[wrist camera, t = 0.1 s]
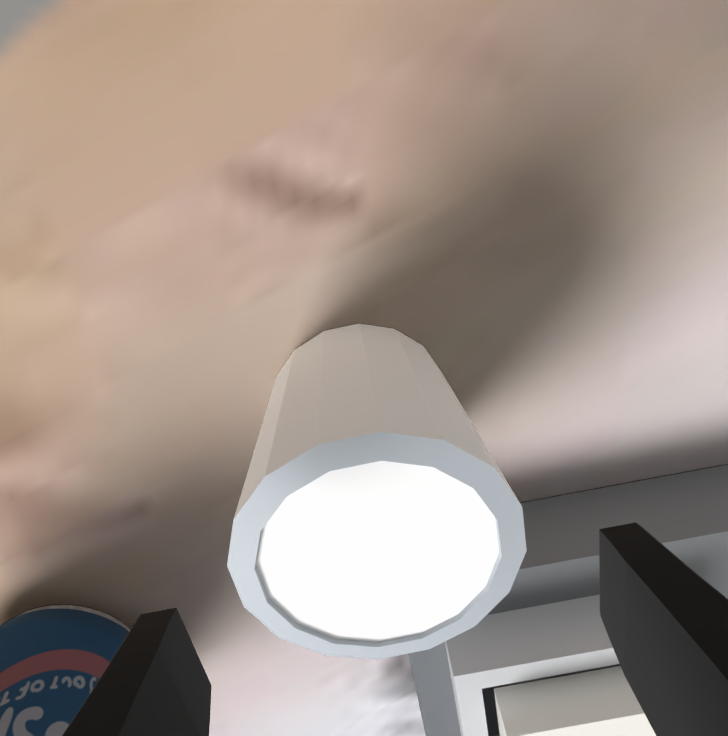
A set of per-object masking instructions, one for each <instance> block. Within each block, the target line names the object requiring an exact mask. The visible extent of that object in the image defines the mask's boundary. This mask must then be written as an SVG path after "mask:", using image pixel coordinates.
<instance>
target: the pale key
mask: <svg viewBox="0 0 728 736" xmlns="http://www.w3.org/2000/svg"><path fill="white" fill-rule="evenodd" d="M494 694H495V702H496V710H497V718H498V726H499V734H500V736H656V734H655V732H654V730H653V729H652V727H651V725H650V723H649V721H648V719H647V717H646V715H645V714H644V712H643V710H642V708H641V706H640V704H639V702H638V700H637V698H636V696H635V695H634V693H633V691H632V689H631V687H630V685H629V683H628V681H627V679H626V677H625V675H624V673H623V671H622V668H621V666H617V667H611V668H606V669H600V670H594V671H589V672H583V673H578V674H572V675H567V676H561V677H556V678H550V679H545V680H539V681H533V682H528V683H522V684H517V685H511V686H506V687H500V688H495V689H494Z"/></svg>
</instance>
